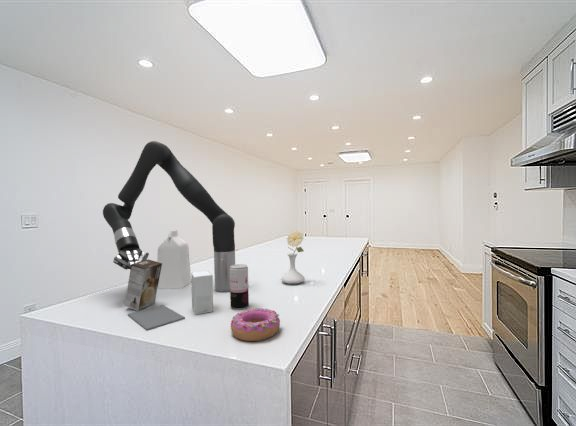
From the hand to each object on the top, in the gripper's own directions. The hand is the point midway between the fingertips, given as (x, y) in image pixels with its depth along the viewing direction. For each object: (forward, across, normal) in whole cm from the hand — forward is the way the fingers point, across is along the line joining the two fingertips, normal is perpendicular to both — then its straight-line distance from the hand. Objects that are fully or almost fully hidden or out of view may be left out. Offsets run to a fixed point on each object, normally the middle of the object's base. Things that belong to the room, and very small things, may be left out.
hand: (137, 275), depth 107 cm
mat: (+20, 0, -4) cm, 20 cm away
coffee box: (+9, 0, +7) cm, 11 cm away
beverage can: (+30, +25, -13) cm, 41 cm away
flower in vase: (+25, +62, -8) cm, 67 cm away
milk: (-4, +22, +21) cm, 30 cm away
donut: (+44, +16, -27) cm, 54 cm away
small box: (+24, +14, -8) cm, 29 cm away
